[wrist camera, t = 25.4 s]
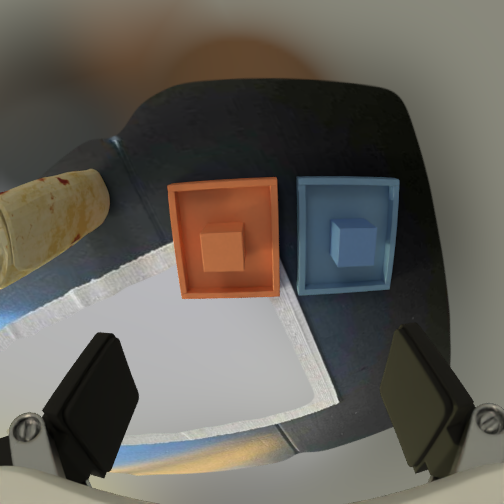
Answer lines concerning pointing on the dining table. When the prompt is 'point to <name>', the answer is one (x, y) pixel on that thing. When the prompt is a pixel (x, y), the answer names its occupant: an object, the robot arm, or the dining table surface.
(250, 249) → the terracotta tray
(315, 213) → the blue tray
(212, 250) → the terracotta block
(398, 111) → the dining table surface
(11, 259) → the food model
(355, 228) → the blue block
